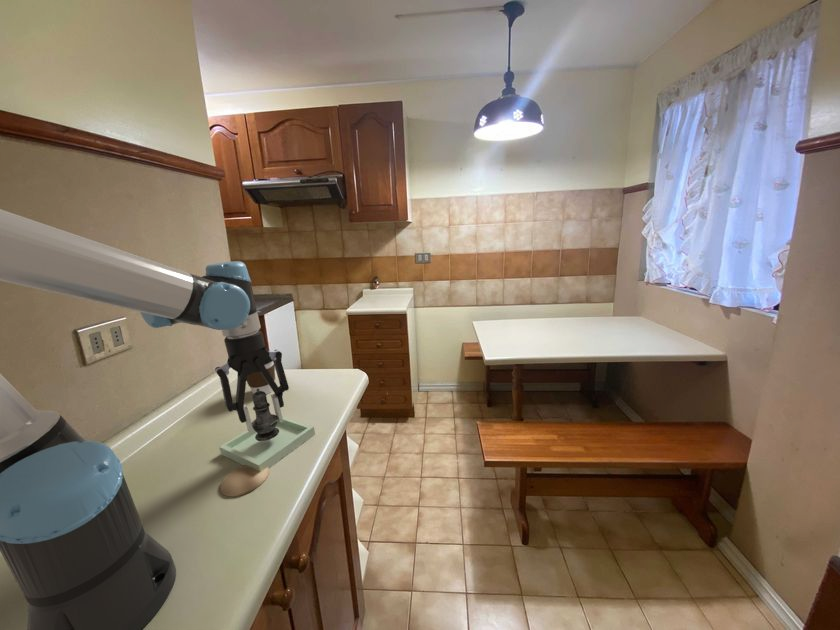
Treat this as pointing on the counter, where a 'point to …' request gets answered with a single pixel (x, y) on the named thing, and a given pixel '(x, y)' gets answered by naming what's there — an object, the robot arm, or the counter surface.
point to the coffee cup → (261, 378)
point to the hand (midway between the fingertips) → (265, 425)
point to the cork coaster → (243, 481)
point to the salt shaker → (263, 418)
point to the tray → (267, 445)
